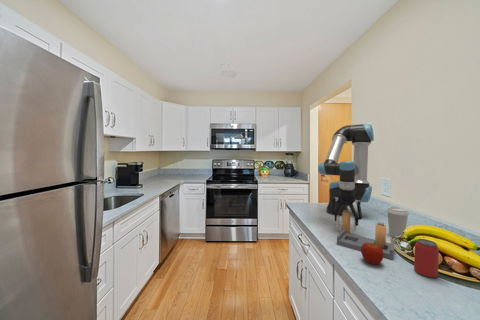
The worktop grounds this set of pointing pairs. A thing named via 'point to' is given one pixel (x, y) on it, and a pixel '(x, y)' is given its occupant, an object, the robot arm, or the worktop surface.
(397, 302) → the worktop surface
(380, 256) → the apple
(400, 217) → the coffee cup
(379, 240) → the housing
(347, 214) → the peg
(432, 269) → the beer can
